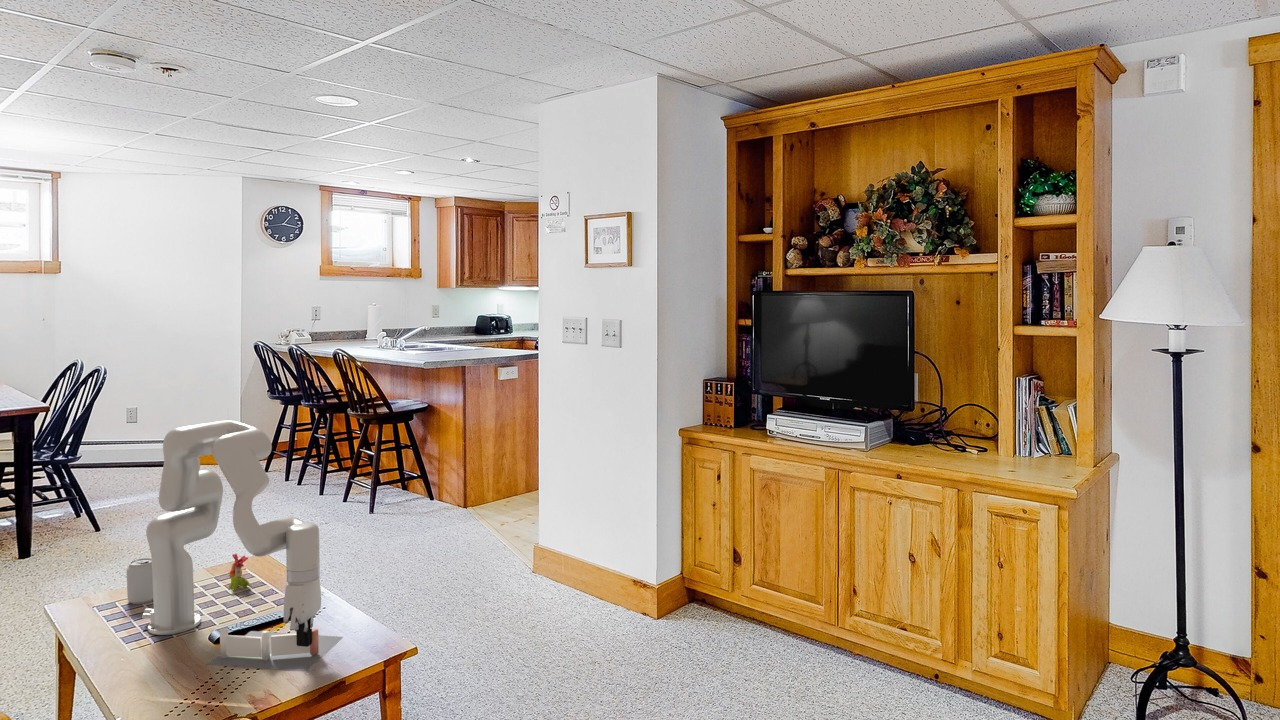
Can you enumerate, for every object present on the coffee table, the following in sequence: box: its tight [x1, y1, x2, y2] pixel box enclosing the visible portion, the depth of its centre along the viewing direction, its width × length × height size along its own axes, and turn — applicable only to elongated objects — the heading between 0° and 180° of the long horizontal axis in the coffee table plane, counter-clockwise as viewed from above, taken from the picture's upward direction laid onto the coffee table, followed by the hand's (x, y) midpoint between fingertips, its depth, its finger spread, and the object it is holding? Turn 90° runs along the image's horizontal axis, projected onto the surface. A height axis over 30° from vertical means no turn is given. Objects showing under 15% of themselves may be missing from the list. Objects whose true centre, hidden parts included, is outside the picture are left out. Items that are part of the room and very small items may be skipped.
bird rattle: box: [228, 553, 252, 592], centre depth 242 cm, size 6×11×9 cm
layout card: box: [205, 630, 344, 672], centre depth 200 cm, size 26×19×1 cm
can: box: [126, 557, 153, 605], centre depth 231 cm, size 8×8×12 cm
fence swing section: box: [271, 628, 319, 656], centre depth 196 cm, size 11×2×6 cm, turn 104°
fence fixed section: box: [219, 627, 271, 661], centre depth 195 cm, size 13×2×7 cm, turn 85°
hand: (304, 644), depth 195 cm, fingers closed
